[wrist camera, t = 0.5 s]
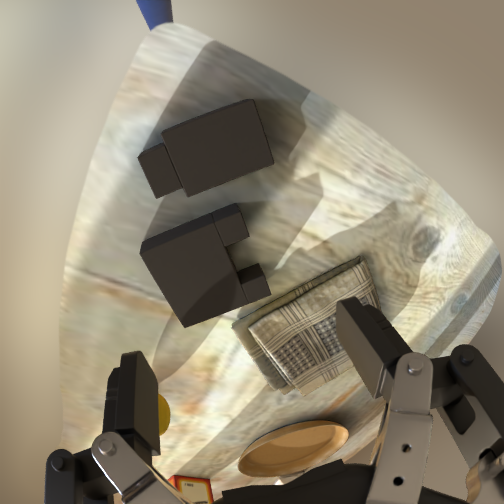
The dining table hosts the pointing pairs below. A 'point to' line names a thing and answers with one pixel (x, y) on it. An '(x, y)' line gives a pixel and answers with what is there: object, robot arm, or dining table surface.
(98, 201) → the dining table surface
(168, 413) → the lemon
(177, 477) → the baking soda box
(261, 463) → the plant saucer
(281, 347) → the dish towel
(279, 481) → the skyscraper
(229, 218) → the notch pad
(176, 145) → the pad
